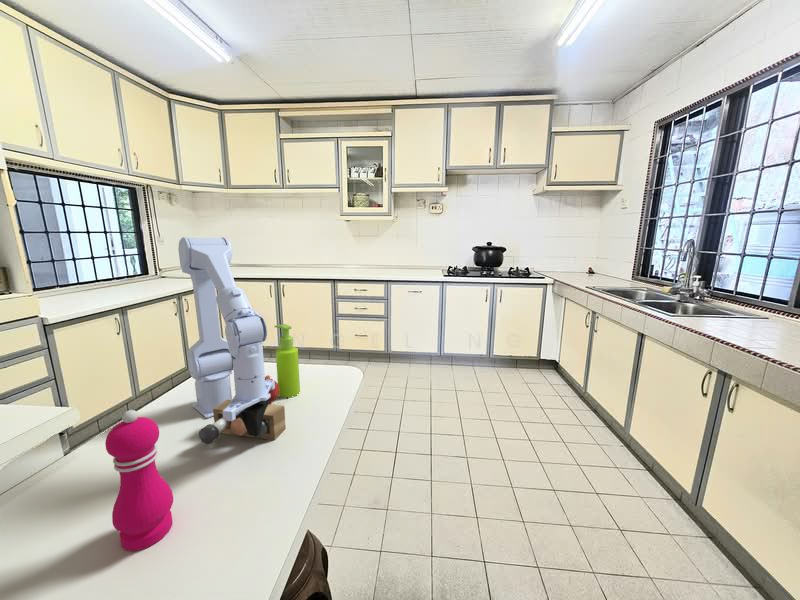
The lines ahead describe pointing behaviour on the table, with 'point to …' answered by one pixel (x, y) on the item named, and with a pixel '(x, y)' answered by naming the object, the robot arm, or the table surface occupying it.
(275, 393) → the onion
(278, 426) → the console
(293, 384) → the soap dispenser
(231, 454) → the table surface
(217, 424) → the knob
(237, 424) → the knob middle
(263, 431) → the knob
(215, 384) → the robot arm
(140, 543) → the pepper mill
